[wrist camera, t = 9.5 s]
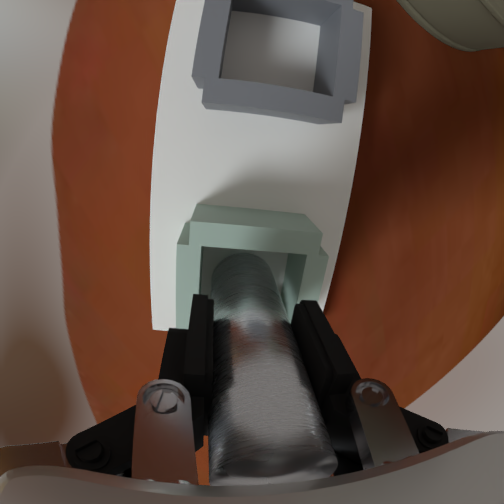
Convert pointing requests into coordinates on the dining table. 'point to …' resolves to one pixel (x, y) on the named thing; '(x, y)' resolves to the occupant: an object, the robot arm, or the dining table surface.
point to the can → (460, 21)
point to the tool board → (255, 145)
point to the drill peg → (260, 386)
